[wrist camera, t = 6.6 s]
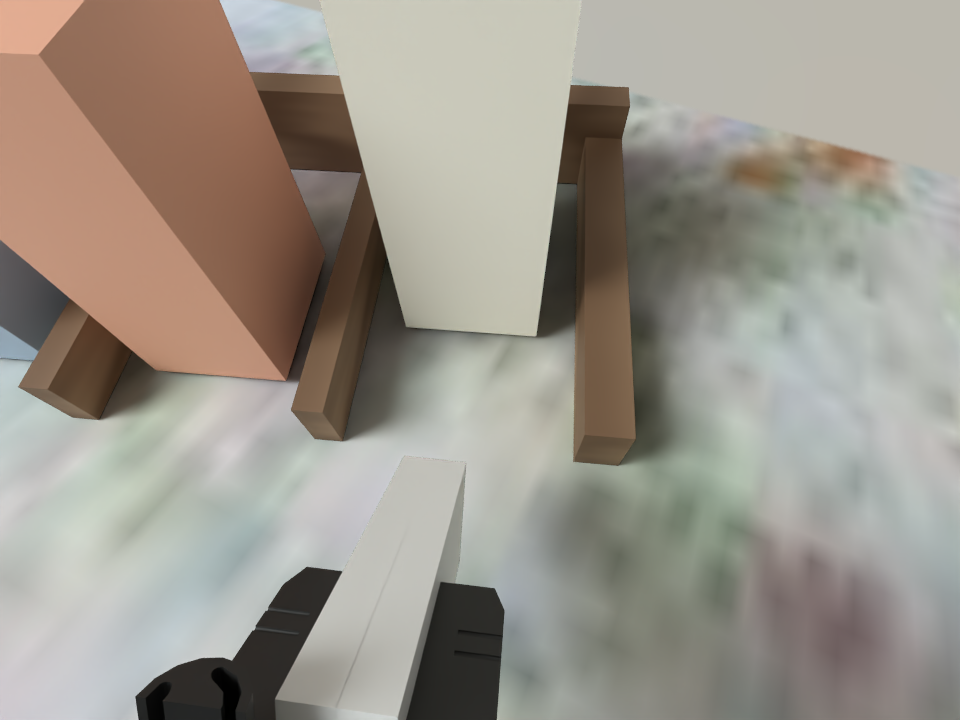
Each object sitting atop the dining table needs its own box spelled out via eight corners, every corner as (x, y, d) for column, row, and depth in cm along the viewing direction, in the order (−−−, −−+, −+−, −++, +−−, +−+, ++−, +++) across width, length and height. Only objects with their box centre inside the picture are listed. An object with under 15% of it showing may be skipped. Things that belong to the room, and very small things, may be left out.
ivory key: (542, 219, 23) (584, -150, 12) (536, 336, 20) (584, -15, 9) (428, 212, 23) (375, -152, 13) (406, 327, 20) (313, -24, 10)
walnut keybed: (609, 167, 25) (628, 87, 21) (618, 465, 18) (648, 419, 14) (31, 137, 27) (-39, 60, 23) (-167, 396, 20) (-310, 340, 16)
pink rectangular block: (325, 253, 22) (175, -106, 12) (286, 380, 19) (38, 54, 9) (211, 246, 22) (-35, -109, 12) (155, 370, 20) (-234, 43, 9)
